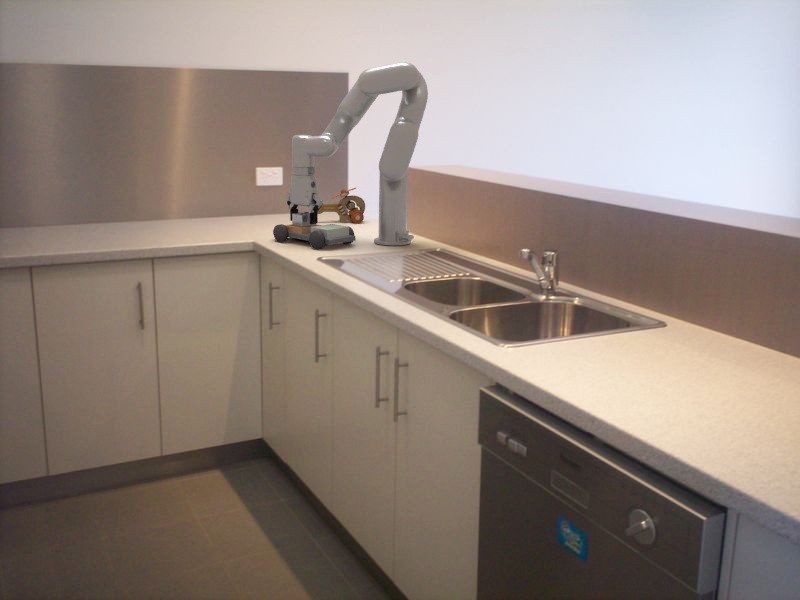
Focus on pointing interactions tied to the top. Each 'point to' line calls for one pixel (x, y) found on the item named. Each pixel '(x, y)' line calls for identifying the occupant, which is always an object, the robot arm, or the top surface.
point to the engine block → (301, 220)
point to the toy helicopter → (341, 207)
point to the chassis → (316, 234)
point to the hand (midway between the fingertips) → (303, 222)
